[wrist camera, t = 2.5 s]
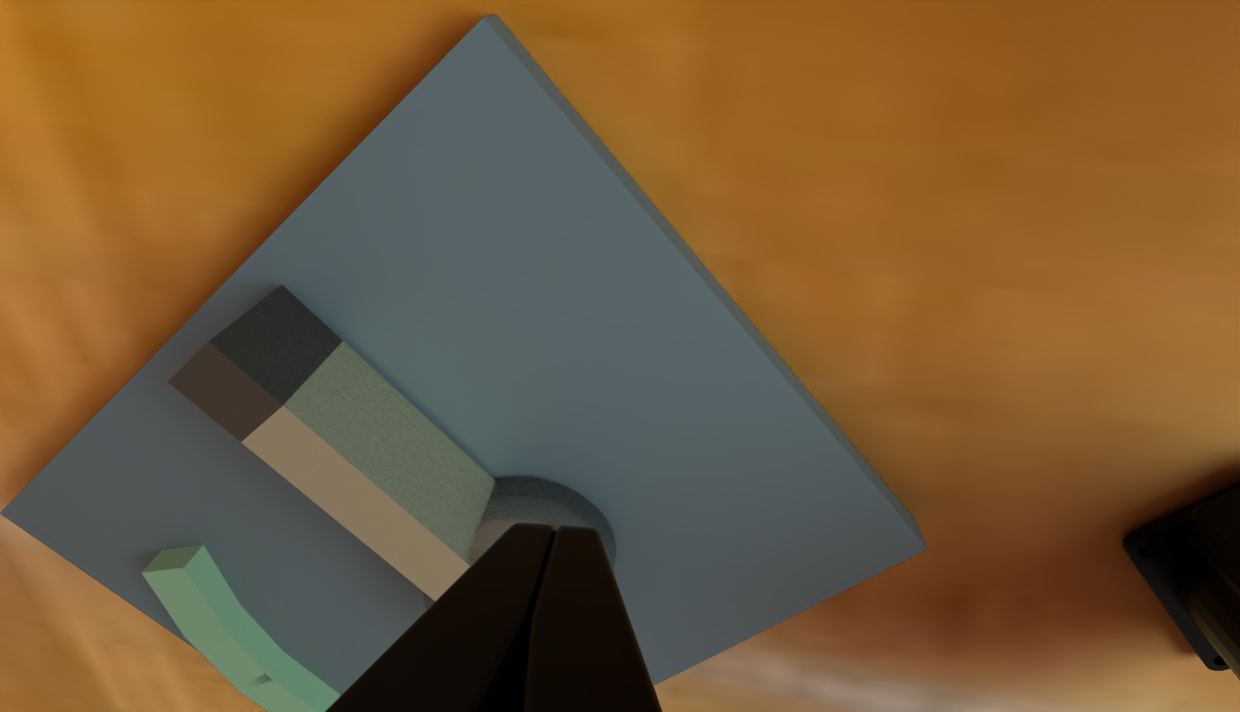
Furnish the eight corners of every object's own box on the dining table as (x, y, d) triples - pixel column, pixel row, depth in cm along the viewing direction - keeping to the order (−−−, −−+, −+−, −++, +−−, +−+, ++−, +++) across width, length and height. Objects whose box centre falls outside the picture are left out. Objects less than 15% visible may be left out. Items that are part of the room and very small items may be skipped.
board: (916, 521, 22) (938, 574, 20) (427, 773, 30) (409, 829, 28) (496, 14, 16) (470, 19, 14) (29, 489, 24) (-28, 534, 22)
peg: (651, 559, 21) (646, 648, 19) (529, 629, 23) (508, 720, 20) (323, 243, 18) (255, 294, 15) (208, 356, 19) (127, 422, 17)
